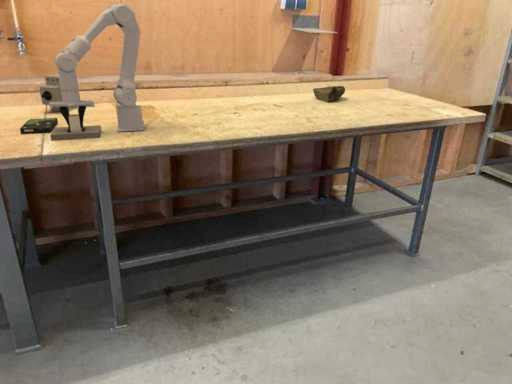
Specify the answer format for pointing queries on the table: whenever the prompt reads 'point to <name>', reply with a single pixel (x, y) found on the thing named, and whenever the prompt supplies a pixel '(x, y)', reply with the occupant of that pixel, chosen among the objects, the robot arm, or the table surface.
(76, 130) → the block
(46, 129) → the disk drive
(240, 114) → the table surface
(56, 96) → the circuit breaker
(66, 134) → the outlet plate
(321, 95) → the concrete fragment
